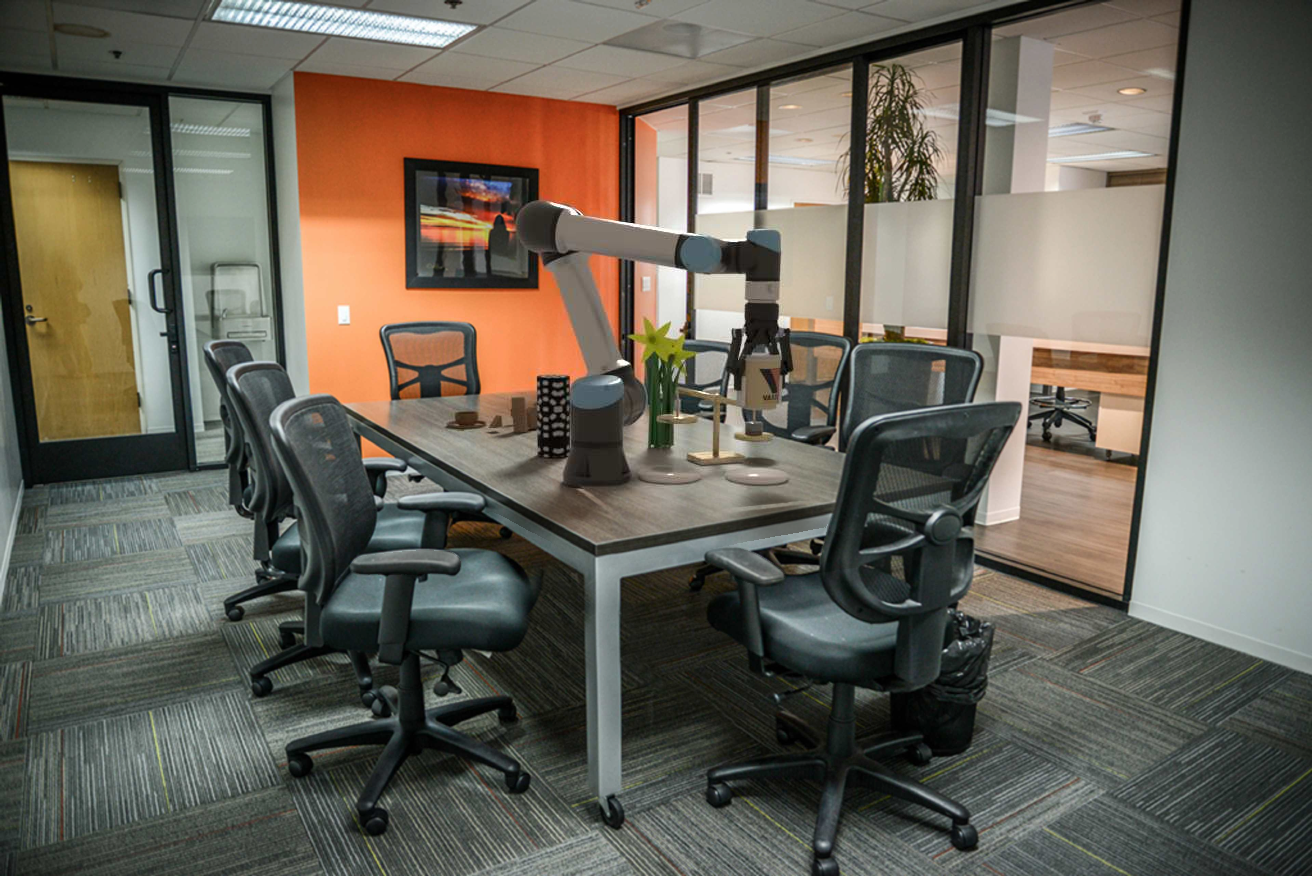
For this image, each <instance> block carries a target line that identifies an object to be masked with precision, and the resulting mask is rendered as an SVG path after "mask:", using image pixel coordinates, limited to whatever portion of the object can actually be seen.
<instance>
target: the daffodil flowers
mask: <svg viewBox="0 0 1312 876" xmlns="http://www.w3.org/2000/svg"><path fill="white" fill-rule="evenodd" d="M642 317H643V318H642V319H643V326H644V331H645V334H643V333H641V334H640V333H636V334H635V333H634V334H629V335H627V338H629V339H631V340H633V341H635V342H637V343H640V344H642V345H644V346H645V348H644V351H643V353H642V357H641V364H644V362H645V367H646V377H647V389H648V392H647V394H648V405H649V407H648V410H649V412H648V413H649V414H648V415H649V417H648V430H647V431H648V433H647V435H648V436H647V449H652V446H653V447H654V448H657V449H661V448H663V447H664V446H665V447H666V446H668V448H671V447H673V446H675V424H668V423H661V422H658V421H657V416H658V415H664V414H674V412H675V411H674V410H675V404H676V403H675V402H676V397H677V391H676V390H677V387H678V385H679V384H678V383H679V379H680V374H681V373H682V374H683V376H685V377H688V374H687V371H686V369H685V366H684V365H685V363H687V361H688V359H690V358H692V357H693V356H696V355H697V354H699V352H698V351H693V350H691V351H690V350H684V349H683V345H684V342H685V336H686V333H685V332H684V333H683V334H682V335H680V336H679V338H678V339H673V338H670V337H666V335H668V333H669V331H670V327H671V324H672V322H671V321H669V322H667V323H665V324H664V325H663V326H661V327H659V328H658V329H657V330H655V328H654V326H653V324H652V323H651V322H650V320H649V319H648V318H647V317H646V316H642ZM652 355H653V358H652V357H651V356H652ZM649 357H650V361H651V363H650V361H649ZM683 360H684V361H683ZM659 361H660V363H659ZM682 361H683V362H682ZM659 364H660V366H659ZM673 366H674V367H673ZM675 368H677V369H678V370H677V373H676V375H675V377H674V380H673V374H674V372H675ZM661 393H662V394H661ZM661 395H662V398H661Z"/></svg>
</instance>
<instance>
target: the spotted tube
mask: <svg viewBox="0 0 1312 876" xmlns="http://www.w3.org/2000/svg"><path fill="white" fill-rule="evenodd" d="M570 392H571V376H570V375H566V374H540V375H537V376H536V403H537V427H536V428H537V429H536V430H537V433H536V434H537V437H536V439H537V441H536V443H537V446H536V447H537V456H539V457H542V458H564V457H568V455H569V452H570V448H571V431H570V398H569V396H570Z"/></svg>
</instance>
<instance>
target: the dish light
mask: <svg viewBox="0 0 1312 876" xmlns="http://www.w3.org/2000/svg"><path fill="white" fill-rule="evenodd" d="M638 478H639V479H640V480H641V481H645V482H648V483H655V484H667V485H668V484H669V485H671V484H672V485H673V484H674V485H675V484H676V485H677V484H688V483H689V484H690V483H694V482H697V481H700V479H701V472H700V471H699V470H697V469H693V468H690V467H689V468H688V467H682V466H681V467H680V466H654V467H653V466H652V467H647V468H643V469H641V470H639V471H638Z"/></svg>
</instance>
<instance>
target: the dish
mask: <svg viewBox="0 0 1312 876" xmlns="http://www.w3.org/2000/svg"><path fill="white" fill-rule="evenodd" d="M725 479H726V480H728V481H730V482H733V483H738V484H744V485H752V486H753V485H756V486H758V485H759V486H765V485H767V486H768V485H779V484H783V483H786V482H788V480H789V473H787V472H785V471H783V470H779V469H774V468H767V467H737V468H732V469H728V470H726V471H725Z"/></svg>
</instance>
